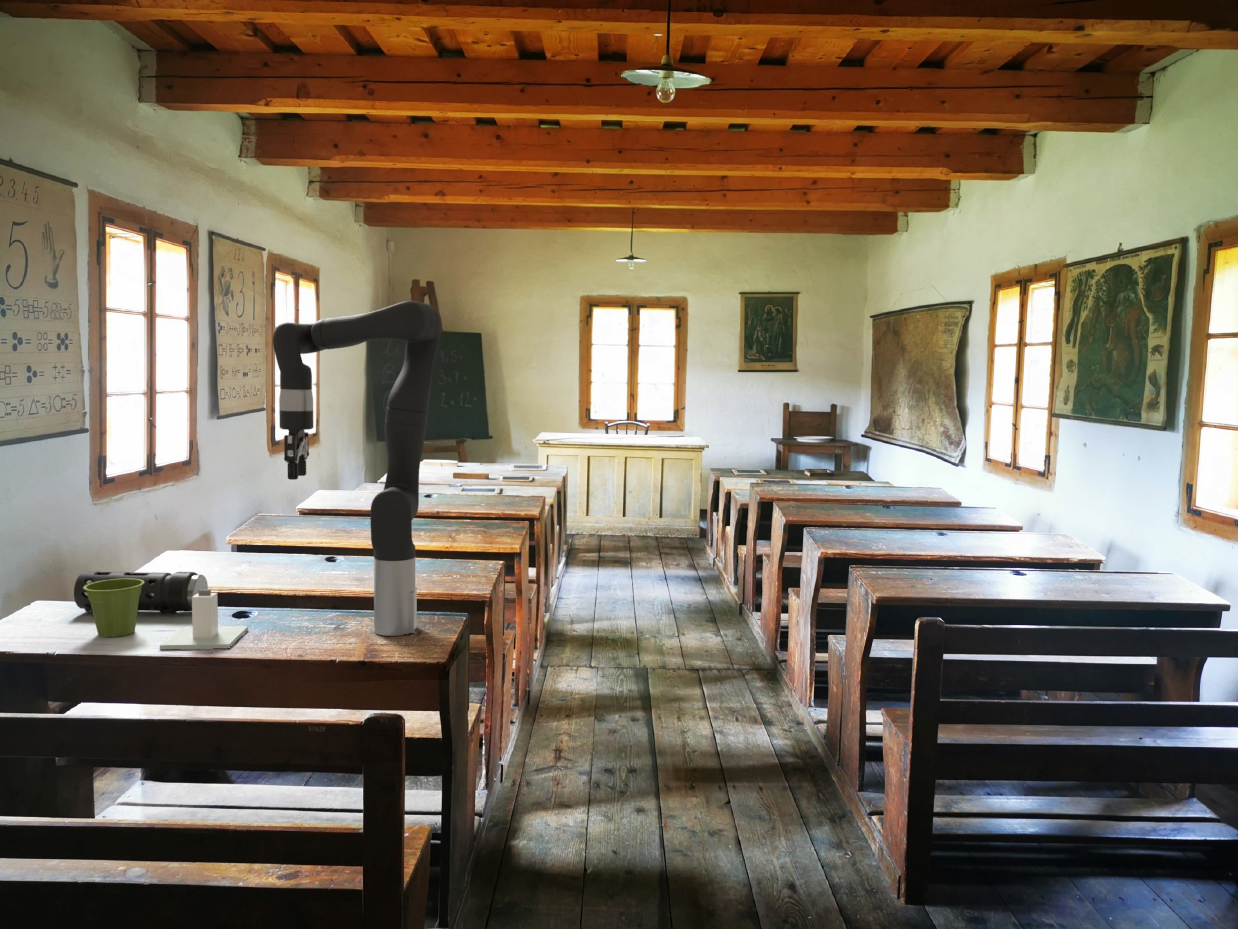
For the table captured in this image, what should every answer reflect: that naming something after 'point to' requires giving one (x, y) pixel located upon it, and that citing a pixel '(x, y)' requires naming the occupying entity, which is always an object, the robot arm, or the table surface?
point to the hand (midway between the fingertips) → (297, 477)
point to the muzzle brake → (149, 589)
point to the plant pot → (114, 605)
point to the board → (220, 640)
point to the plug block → (205, 614)
